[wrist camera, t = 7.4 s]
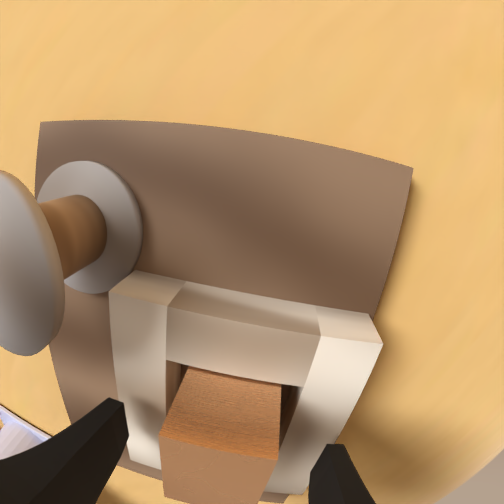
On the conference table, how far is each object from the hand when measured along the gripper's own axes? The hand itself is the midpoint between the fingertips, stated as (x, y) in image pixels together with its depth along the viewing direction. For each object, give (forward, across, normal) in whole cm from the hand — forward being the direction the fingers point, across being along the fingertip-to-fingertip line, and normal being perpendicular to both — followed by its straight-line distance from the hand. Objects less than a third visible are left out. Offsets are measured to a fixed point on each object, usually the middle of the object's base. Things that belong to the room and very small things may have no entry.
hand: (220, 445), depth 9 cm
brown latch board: (+4, +2, 0) cm, 5 cm away
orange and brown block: (+3, 0, -1) cm, 3 cm away
